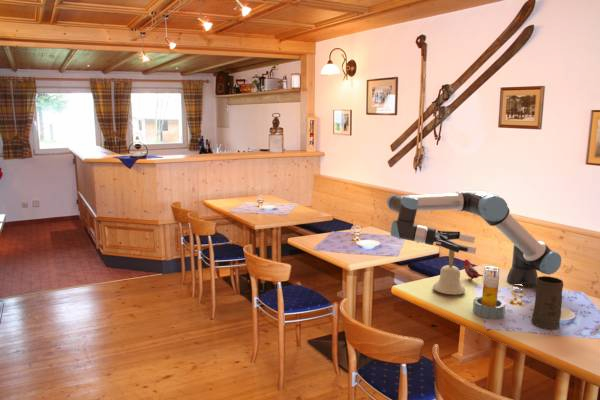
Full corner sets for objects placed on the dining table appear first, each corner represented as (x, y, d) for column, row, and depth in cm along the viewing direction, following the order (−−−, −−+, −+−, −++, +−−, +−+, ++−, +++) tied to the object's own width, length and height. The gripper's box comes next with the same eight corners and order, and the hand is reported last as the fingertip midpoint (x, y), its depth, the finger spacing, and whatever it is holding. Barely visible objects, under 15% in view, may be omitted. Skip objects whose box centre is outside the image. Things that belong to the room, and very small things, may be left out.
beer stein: (566, 329, 201) (570, 282, 199) (542, 331, 199) (546, 282, 197) (542, 316, 216) (545, 272, 214) (520, 317, 215) (522, 272, 212)
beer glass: (498, 302, 229) (501, 271, 226) (482, 301, 230) (485, 270, 227) (495, 297, 236) (498, 266, 233) (480, 295, 237) (482, 265, 234)
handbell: (432, 284, 251) (436, 236, 246) (464, 288, 247) (468, 239, 242) (432, 295, 236) (436, 244, 232) (465, 299, 232) (470, 247, 228)
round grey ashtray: (487, 305, 225) (488, 295, 224) (509, 316, 214) (510, 305, 213) (467, 309, 220) (468, 299, 219) (488, 320, 209) (489, 309, 208)
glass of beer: (478, 307, 219) (481, 275, 217) (491, 307, 220) (495, 275, 217) (484, 313, 213) (487, 280, 211) (498, 313, 214) (501, 280, 211)
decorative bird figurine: (464, 275, 265) (466, 257, 263) (485, 287, 248) (487, 268, 247) (460, 276, 264) (461, 258, 263) (480, 287, 248) (482, 268, 246)
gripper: (425, 234, 233) (472, 243, 228) (422, 252, 210) (474, 263, 205) (428, 219, 231) (475, 228, 226) (425, 236, 208) (478, 247, 203)
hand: (475, 245), depth 216 cm, fingers open, 13 cm apart
